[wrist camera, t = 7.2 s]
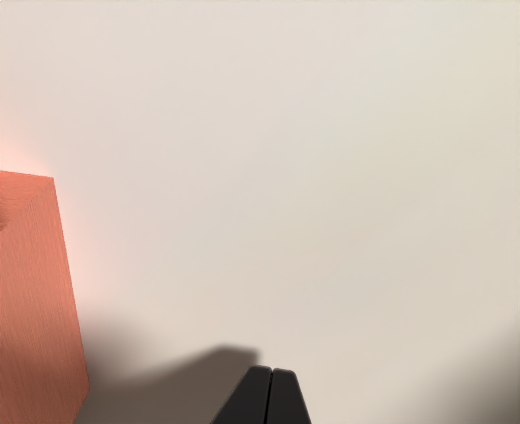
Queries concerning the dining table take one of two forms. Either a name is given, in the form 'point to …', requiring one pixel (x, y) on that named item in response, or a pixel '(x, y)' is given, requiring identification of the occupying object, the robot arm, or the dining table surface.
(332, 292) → the dining table surface
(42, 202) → the pin
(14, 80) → the dining table surface
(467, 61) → the dining table surface
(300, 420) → the robot arm
